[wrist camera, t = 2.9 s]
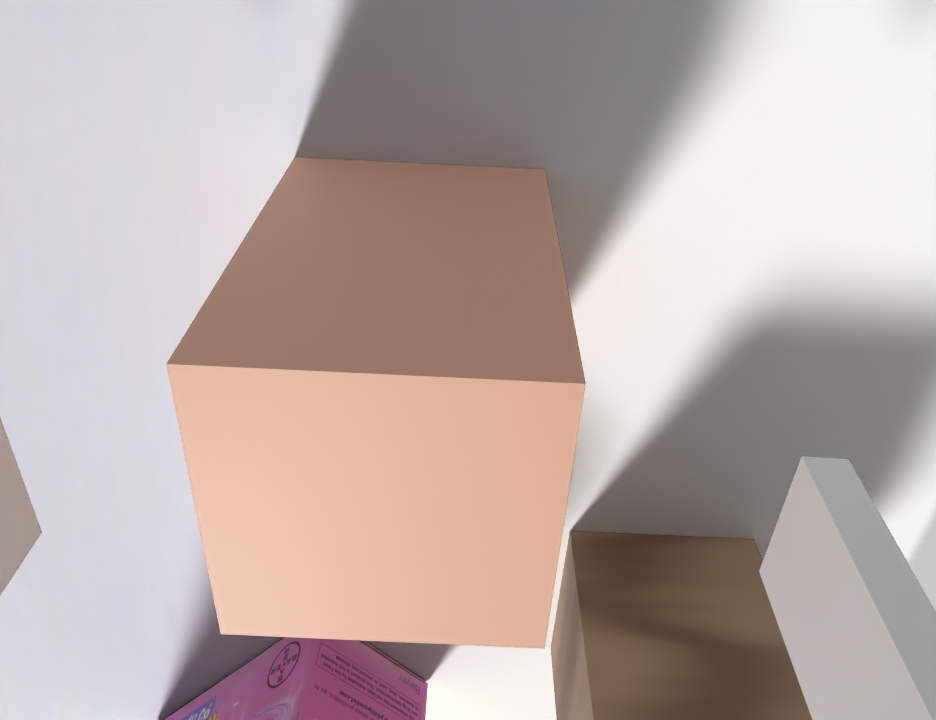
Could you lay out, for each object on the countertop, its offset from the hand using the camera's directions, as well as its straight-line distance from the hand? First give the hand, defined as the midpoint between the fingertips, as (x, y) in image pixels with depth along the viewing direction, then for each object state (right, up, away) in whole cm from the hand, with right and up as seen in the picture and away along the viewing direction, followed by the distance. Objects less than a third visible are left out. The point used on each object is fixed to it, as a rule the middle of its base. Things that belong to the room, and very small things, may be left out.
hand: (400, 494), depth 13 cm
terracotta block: (0, +4, +7) cm, 8 cm away
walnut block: (+7, -6, +14) cm, 17 cm away
